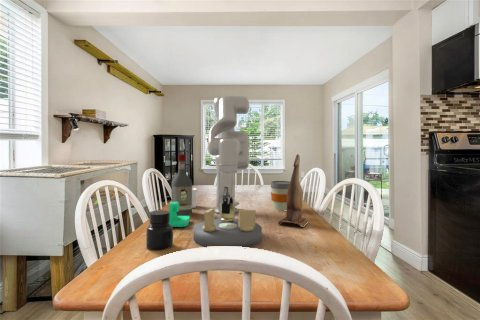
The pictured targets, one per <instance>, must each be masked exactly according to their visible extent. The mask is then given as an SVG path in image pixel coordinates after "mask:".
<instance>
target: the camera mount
mask: <svg viewBox="0 0 480 320" xmlns="http://www.w3.org/2000/svg"><path fill="white" fill-rule="evenodd" d="M168 211H170V222H169V224H170V225H171V226H172V227H173V228H174V227H175V228H177V227H178V228H179V227H180V228H182V227H188V225H189V224H190V219H191V216H190V215H185V216H177V213H176V212H178V211H179V202H172V201H170V202H169V207H168Z"/></svg>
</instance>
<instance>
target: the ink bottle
mask: <svg viewBox="0 0 480 320" xmlns="http://www.w3.org/2000/svg"><path fill="white" fill-rule="evenodd" d="M169 222H170V211H169V210H164V209H160V210H159V209H157V210H152V211H150V212H149V224H150V225H148V226H147V227H146V230H145V232H146V235H145V236H146V238H145V239H146V240H145V241H146V244H145V245H146V248H147V249H149V250H152V251H163V250H164V251H165V250H167V249H169V248H172V247H173V244H174V230H173V229H174V227H172V226H171V225H170V224H169Z"/></svg>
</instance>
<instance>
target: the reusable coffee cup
mask: <svg viewBox="0 0 480 320" xmlns="http://www.w3.org/2000/svg"><path fill="white" fill-rule="evenodd" d="M289 184H290V180H289V181H288V180H287V181H286V180H273V181H271V182H270V190H271V191H270V196H271V201H272V209H273V210H274V211H276V210H279V211H278V212H285V211H284V210H287V192H288V188H289Z"/></svg>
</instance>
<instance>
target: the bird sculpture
mask: <svg viewBox="0 0 480 320" xmlns="http://www.w3.org/2000/svg"><path fill="white" fill-rule="evenodd" d="M300 159H301V157H300V155H299V154H296V155H295V159H294V161H293V162H294V163H293V165H292V166H293V170H292V174H291V177H290V180H289V182H290V184H289V188H288V192H287V211H286V216H285V217H284V218H282V219H280V220H279V221H278V223H277V225H278V224H279V225H281V224H282V223H283V222H284V223H293V224H297V225H298V226H299V227H302V226H304V225H305V224H306V223H307V222H308V223H309V219H308V218H306V217H305V218H304V217H302V216H303V188H302V185H301V182H300V165H301V164H300V162H301V160H300ZM280 223H281V224H280Z"/></svg>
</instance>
